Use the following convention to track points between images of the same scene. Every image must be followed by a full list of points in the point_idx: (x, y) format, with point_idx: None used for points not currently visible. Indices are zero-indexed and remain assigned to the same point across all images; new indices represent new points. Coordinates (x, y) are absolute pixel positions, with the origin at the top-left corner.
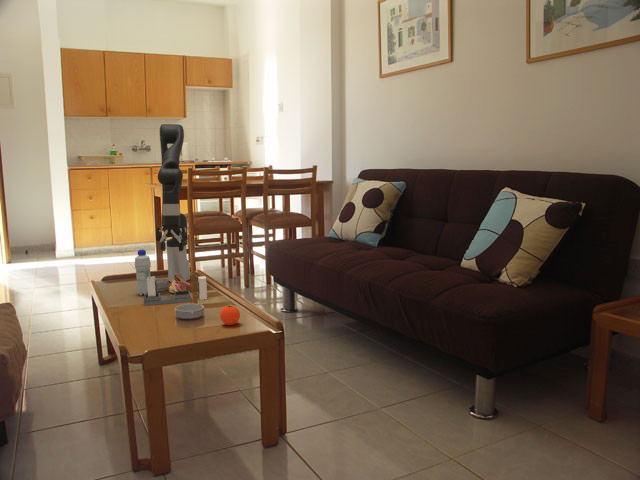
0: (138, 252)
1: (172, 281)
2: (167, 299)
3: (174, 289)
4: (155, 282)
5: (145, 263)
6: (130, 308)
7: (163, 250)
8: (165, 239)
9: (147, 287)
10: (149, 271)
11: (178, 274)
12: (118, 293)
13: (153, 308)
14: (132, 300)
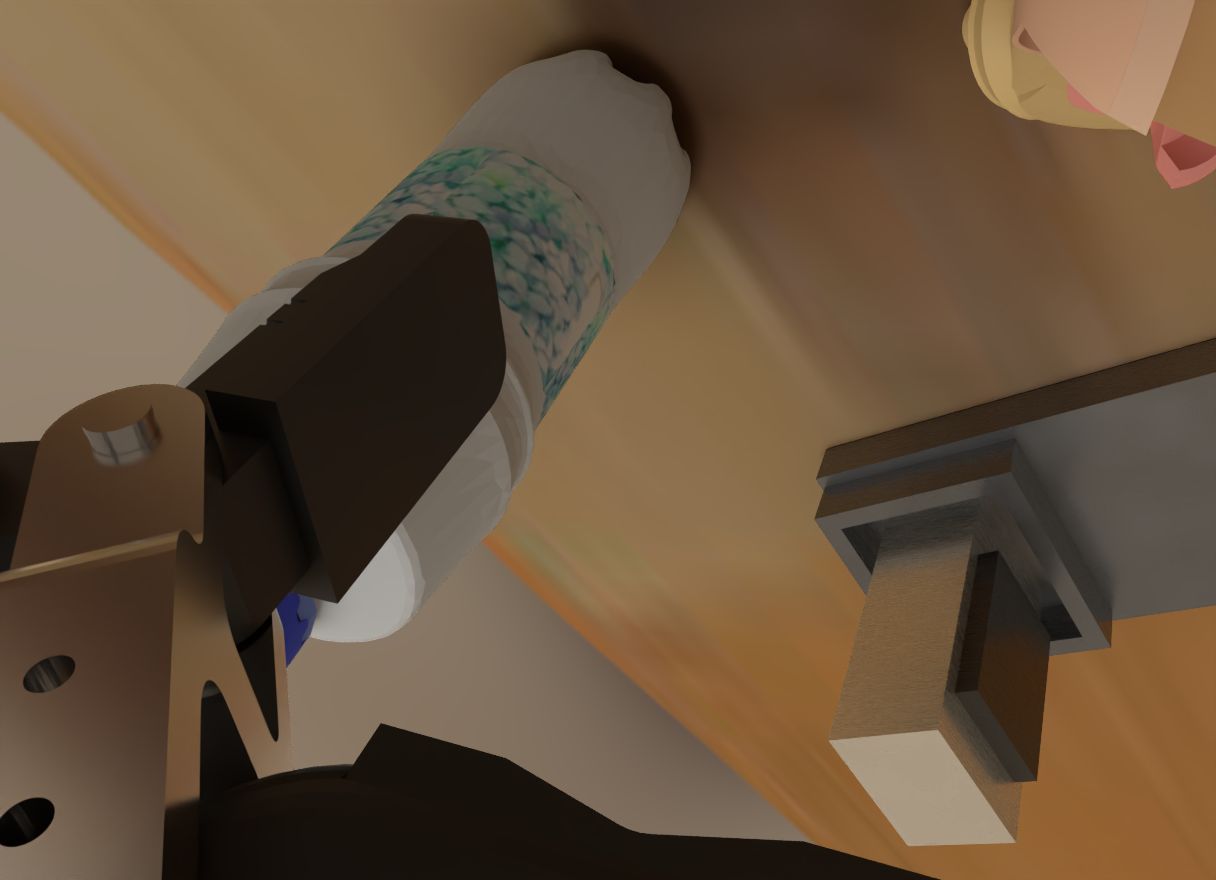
0: None
1: (1027, 81)
2: (1209, 583)
3: (1124, 128)
4: (1023, 773)
5: (477, 543)
6: (844, 679)
7: (496, 359)
8: (209, 548)
9: (651, 261)
10: (554, 346)
11: (1168, 45)
12: (232, 119)
13: (1108, 710)
14: (655, 422)
